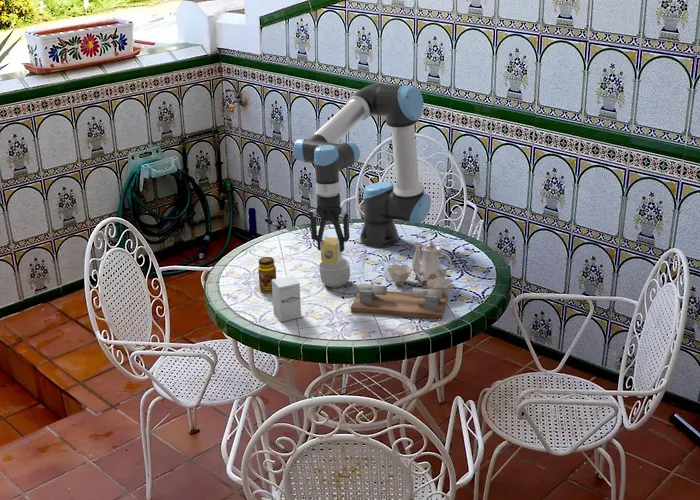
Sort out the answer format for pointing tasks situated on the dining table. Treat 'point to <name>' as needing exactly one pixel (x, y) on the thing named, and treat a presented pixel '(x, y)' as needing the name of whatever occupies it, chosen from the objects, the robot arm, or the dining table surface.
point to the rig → (399, 302)
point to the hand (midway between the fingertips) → (331, 259)
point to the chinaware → (425, 269)
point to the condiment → (266, 275)
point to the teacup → (335, 273)
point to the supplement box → (286, 298)
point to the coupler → (329, 251)
